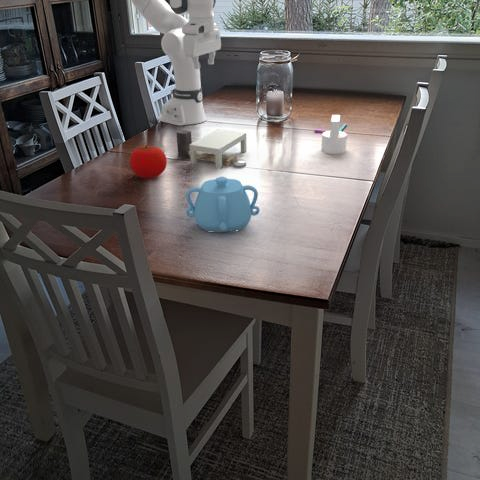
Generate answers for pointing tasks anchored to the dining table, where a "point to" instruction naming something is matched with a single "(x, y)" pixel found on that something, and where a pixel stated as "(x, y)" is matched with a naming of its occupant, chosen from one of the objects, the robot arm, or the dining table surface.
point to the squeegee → (325, 131)
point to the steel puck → (239, 162)
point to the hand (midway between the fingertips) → (204, 66)
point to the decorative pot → (222, 205)
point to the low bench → (217, 144)
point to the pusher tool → (184, 151)
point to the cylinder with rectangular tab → (334, 138)
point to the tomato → (148, 161)
